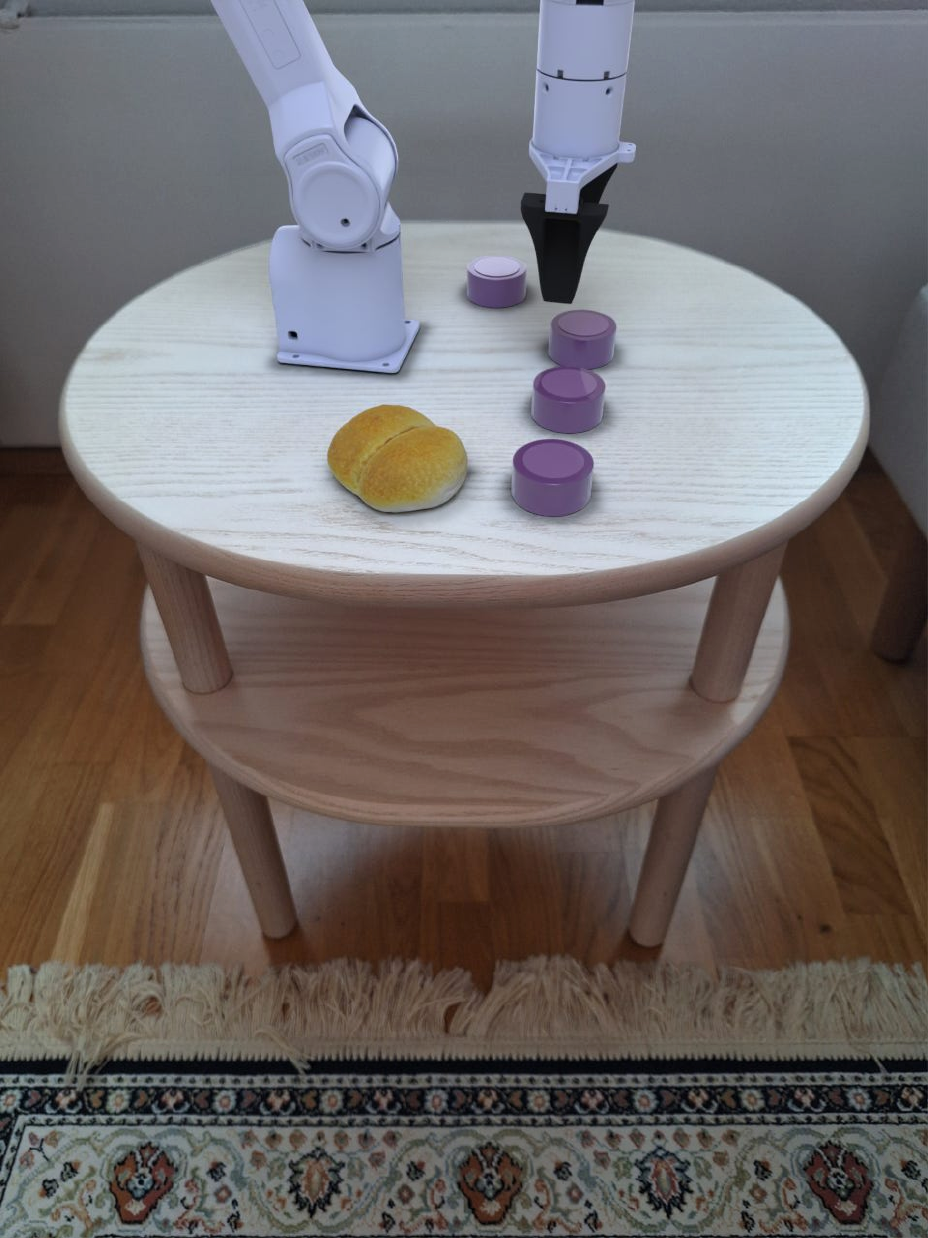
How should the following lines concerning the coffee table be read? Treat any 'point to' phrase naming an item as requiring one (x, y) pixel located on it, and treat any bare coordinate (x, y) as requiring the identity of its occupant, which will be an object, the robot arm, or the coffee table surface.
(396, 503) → the bread roll
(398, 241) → the robot arm
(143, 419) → the coffee table surface
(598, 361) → the plum dish
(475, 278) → the purple short cylinder
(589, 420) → the plum dish
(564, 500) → the plum dish front
